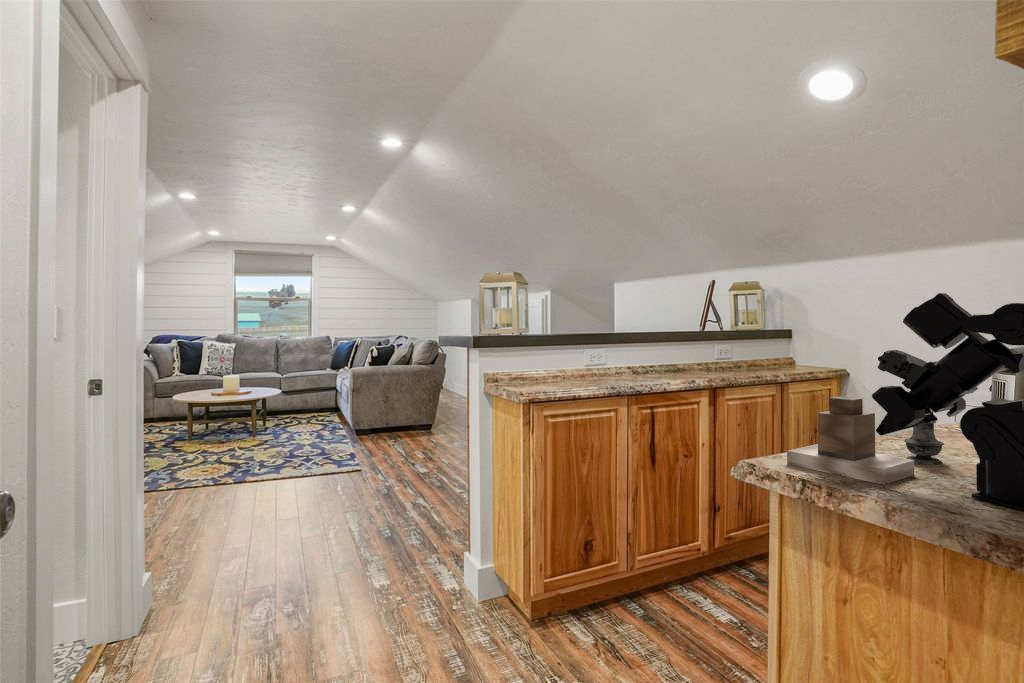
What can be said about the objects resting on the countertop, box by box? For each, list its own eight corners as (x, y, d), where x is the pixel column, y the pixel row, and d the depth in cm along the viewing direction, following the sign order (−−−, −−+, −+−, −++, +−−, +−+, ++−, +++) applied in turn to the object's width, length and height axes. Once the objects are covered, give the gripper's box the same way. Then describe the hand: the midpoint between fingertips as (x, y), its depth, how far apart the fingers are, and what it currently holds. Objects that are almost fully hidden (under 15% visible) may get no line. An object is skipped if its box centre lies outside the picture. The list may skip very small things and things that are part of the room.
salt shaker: (945, 466, 93) (944, 398, 93) (903, 462, 96) (903, 397, 96) (943, 459, 97) (942, 395, 97) (904, 455, 101) (903, 393, 101)
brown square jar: (875, 455, 92) (874, 398, 91) (854, 461, 88) (853, 401, 88) (839, 449, 97) (838, 395, 97) (818, 454, 93) (817, 398, 93)
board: (914, 474, 88) (914, 459, 88) (884, 484, 83) (884, 468, 83) (818, 456, 102) (817, 443, 102) (787, 464, 97) (787, 450, 97)
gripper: (942, 331, 88) (869, 391, 97) (886, 334, 78) (812, 400, 88) (1004, 382, 81) (920, 441, 91) (951, 391, 72) (863, 456, 81)
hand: (878, 433), depth 88 cm, fingers closed
